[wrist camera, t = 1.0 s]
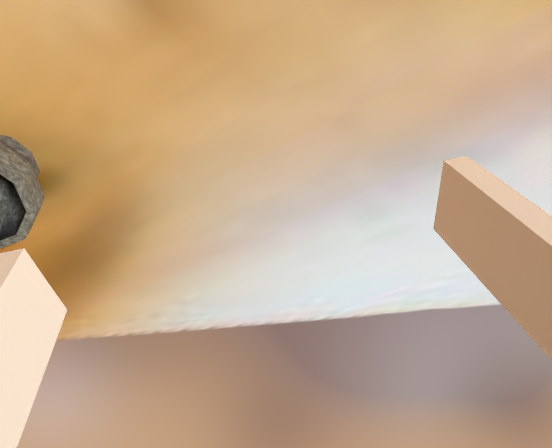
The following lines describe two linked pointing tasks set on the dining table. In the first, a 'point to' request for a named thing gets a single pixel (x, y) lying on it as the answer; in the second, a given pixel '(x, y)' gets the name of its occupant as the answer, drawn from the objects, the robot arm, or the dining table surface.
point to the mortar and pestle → (17, 191)
